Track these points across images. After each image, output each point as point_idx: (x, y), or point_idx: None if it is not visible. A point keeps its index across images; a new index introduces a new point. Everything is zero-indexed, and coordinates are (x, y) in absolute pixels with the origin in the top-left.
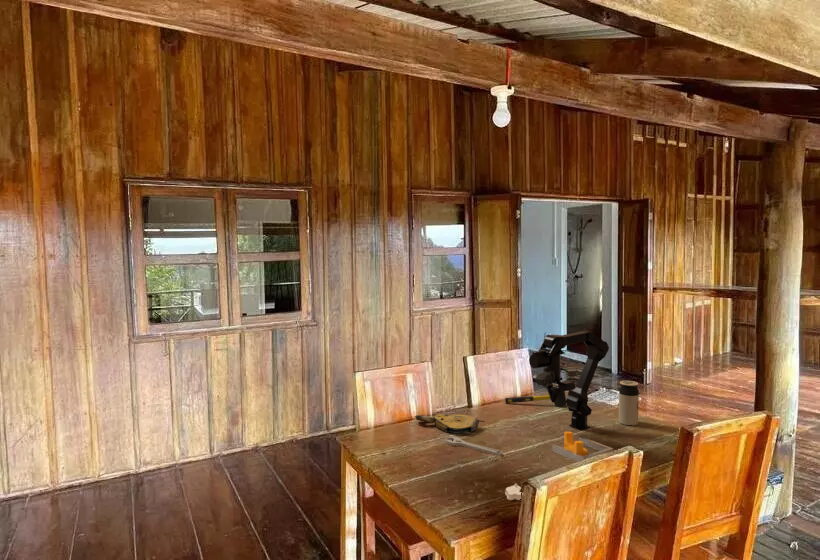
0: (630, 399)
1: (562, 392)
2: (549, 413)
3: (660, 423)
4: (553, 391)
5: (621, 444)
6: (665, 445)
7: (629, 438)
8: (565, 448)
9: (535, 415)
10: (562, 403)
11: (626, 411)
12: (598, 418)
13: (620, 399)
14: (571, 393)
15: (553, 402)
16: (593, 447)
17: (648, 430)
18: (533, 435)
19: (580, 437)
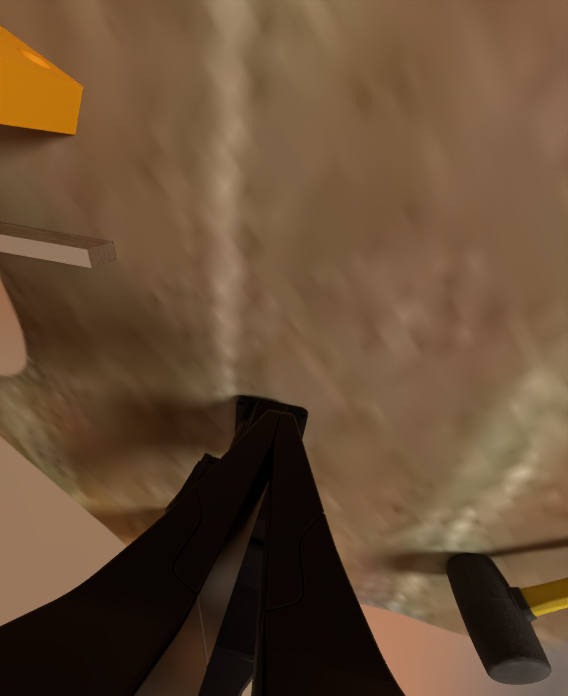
0: None
1: (478, 638)
2: (471, 489)
3: None
4: (129, 587)
5: (45, 362)
6: (7, 434)
7: (89, 426)
8: (56, 68)
9: (531, 440)
10: (458, 573)
11: None
12: None
13: None
14: (246, 619)
15: (268, 412)
16: (14, 227)
17: (125, 501)
18: (374, 112)
19: (77, 249)
